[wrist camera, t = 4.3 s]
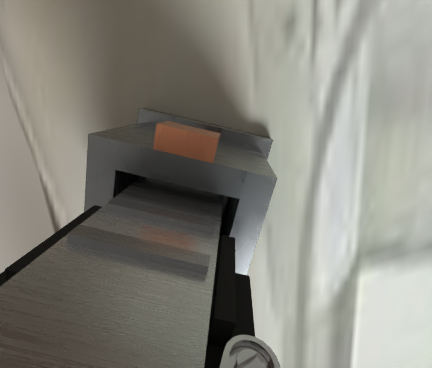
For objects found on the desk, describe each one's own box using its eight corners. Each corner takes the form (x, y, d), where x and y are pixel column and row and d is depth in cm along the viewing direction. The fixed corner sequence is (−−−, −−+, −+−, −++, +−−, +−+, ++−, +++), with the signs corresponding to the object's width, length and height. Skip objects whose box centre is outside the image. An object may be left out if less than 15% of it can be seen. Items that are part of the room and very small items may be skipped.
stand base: (144, 103, 17) (71, 103, 9) (272, 134, 17) (303, 158, 9) (130, 222, 20) (65, 295, 12) (238, 247, 20) (241, 336, 12)
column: (167, 150, 17) (-102, 338, 3) (229, 165, 17) (212, 410, 3) (158, 210, 18) (-56, 508, 5) (215, 223, 18) (162, 558, 5)
